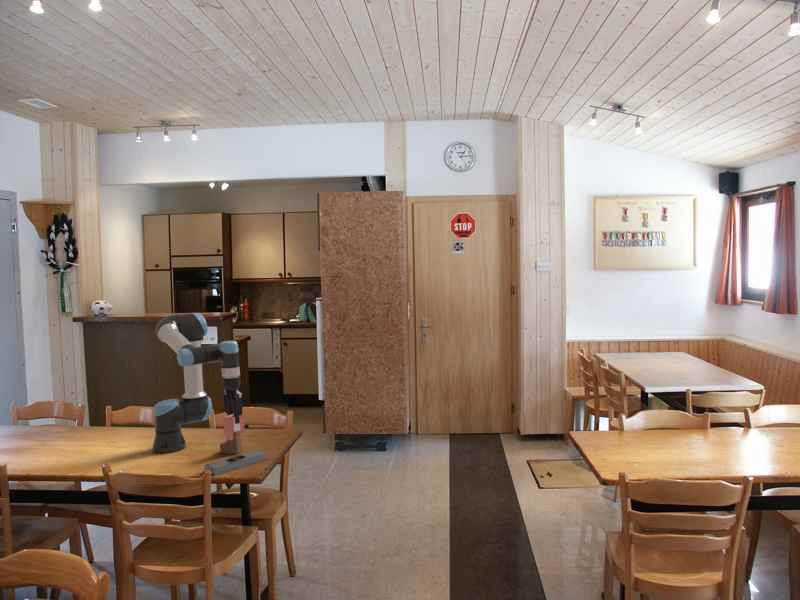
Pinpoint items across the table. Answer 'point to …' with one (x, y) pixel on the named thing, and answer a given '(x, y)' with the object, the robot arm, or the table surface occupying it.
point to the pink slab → (229, 427)
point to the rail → (235, 462)
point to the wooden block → (231, 445)
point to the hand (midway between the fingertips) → (234, 430)
